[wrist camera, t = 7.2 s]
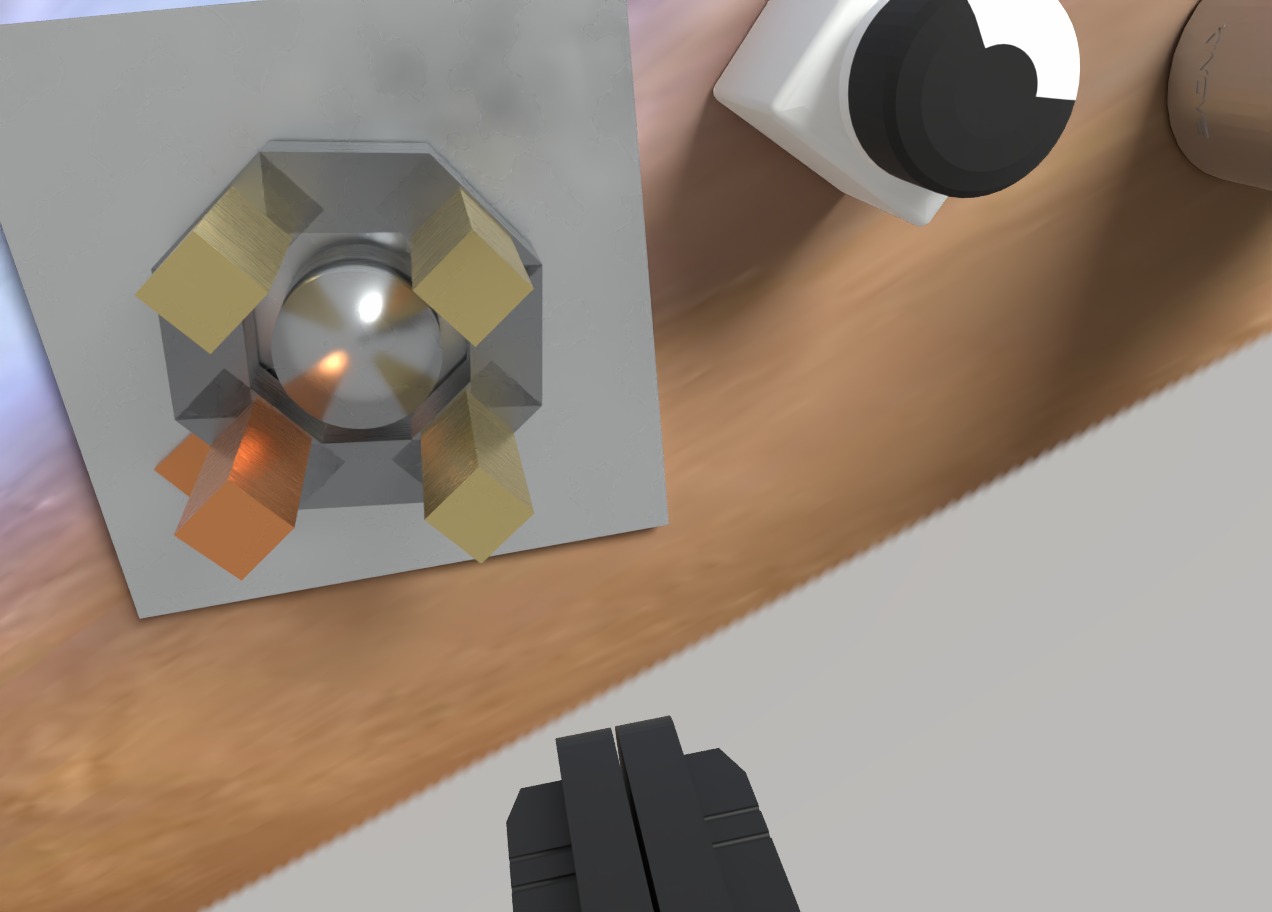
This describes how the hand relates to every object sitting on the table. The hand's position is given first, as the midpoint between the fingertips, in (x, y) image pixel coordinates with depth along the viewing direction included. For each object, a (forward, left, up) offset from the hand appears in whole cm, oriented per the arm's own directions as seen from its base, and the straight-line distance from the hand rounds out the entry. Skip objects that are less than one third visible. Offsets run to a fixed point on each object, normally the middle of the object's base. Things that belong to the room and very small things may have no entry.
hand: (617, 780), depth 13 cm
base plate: (+4, +2, -29) cm, 30 cm away
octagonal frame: (+4, +2, -28) cm, 28 cm away
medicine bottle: (-15, -5, -29) cm, 33 cm away
